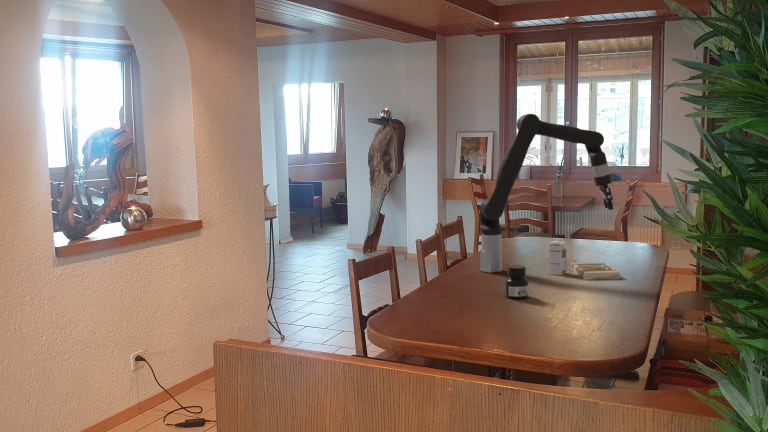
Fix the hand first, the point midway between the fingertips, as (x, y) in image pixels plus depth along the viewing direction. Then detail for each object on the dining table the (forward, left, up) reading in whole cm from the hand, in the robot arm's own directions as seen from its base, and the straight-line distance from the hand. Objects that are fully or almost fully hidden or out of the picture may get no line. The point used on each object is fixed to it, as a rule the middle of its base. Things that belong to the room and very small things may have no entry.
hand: (609, 208), depth 325 cm
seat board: (-18, -2, -27) cm, 33 cm away
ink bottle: (-75, +1, -28) cm, 80 cm away
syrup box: (-27, +11, -28) cm, 40 cm away
